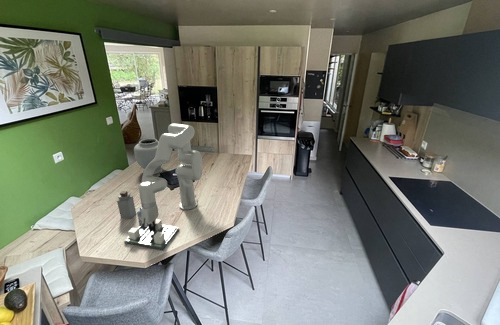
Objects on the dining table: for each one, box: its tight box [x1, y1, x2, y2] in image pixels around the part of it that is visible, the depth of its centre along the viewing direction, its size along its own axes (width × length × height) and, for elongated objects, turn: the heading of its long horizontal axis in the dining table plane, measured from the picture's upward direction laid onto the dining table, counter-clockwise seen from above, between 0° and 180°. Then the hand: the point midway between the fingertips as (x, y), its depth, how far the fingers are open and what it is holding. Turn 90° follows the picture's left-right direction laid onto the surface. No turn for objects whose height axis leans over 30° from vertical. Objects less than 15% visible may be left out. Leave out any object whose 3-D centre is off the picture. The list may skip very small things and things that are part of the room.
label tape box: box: [136, 207, 142, 225], centre depth 152 cm, size 9×4×12 cm, turn 150°
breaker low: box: [127, 227, 140, 240], centre depth 135 cm, size 4×4×5 cm
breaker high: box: [154, 232, 165, 244], centre depth 132 cm, size 4×4×5 cm
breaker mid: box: [155, 218, 163, 231], centre depth 143 cm, size 4×4×5 cm
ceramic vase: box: [133, 138, 164, 175], centre depth 221 cm, size 27×27×30 cm
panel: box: [123, 223, 180, 252], centre depth 140 cm, size 18×24×3 cm
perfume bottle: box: [116, 190, 137, 220], centre depth 156 cm, size 7×7×18 cm
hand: (152, 230), depth 139 cm, fingers closed
